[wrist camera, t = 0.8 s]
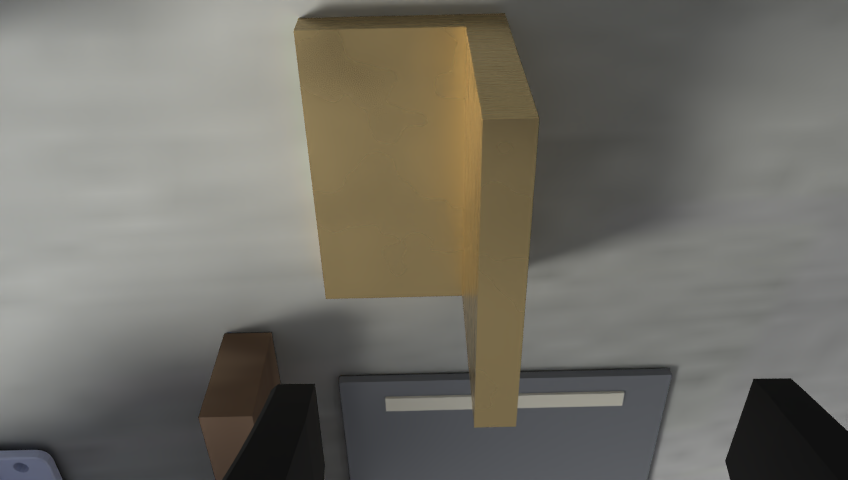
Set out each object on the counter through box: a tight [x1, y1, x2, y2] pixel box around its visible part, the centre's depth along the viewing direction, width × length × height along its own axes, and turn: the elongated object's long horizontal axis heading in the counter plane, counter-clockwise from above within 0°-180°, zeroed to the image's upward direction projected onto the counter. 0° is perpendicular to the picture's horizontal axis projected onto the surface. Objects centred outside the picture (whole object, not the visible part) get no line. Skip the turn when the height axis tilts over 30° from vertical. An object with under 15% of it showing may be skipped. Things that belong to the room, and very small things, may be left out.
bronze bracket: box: [294, 13, 539, 428], centre depth 18 cm, size 8×5×6 cm, turn 1°
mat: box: [339, 368, 672, 480], centre depth 27 cm, size 11×9×1 cm
